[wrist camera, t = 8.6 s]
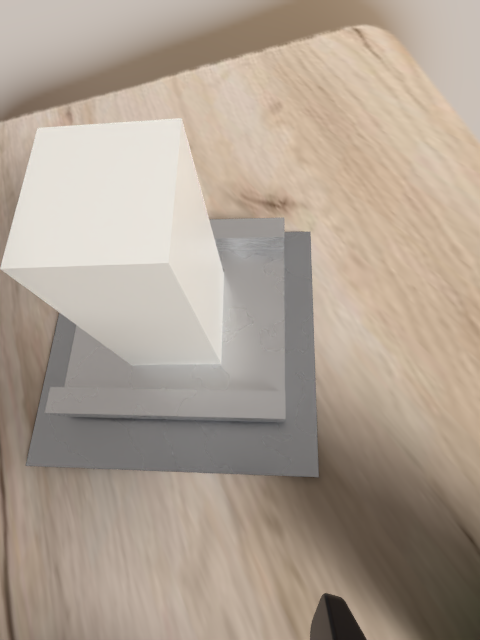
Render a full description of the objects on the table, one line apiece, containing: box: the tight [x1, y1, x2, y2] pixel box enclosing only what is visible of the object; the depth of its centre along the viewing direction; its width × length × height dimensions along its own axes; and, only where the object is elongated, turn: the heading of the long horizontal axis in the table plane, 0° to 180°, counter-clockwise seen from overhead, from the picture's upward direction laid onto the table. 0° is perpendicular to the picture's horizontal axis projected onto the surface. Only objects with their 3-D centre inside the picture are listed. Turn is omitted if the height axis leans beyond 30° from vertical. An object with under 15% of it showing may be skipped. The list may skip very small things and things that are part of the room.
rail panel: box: [26, 218, 319, 477], centre depth 20 cm, size 13×14×2 cm
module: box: [0, 118, 224, 365], centre depth 16 cm, size 5×5×10 cm
